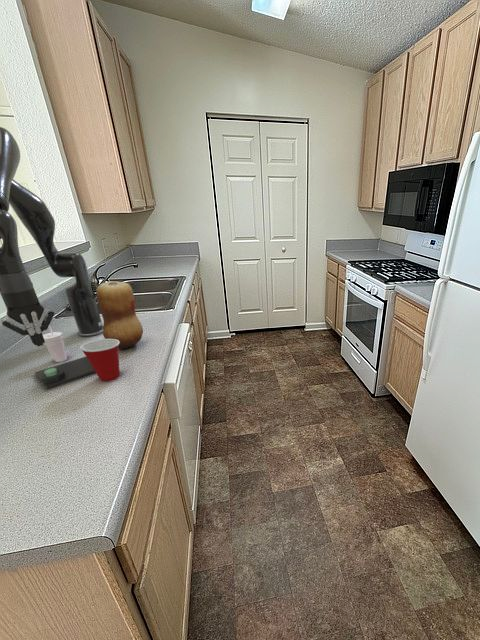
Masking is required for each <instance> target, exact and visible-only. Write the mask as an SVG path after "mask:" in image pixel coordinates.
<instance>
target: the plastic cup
mask: <svg viewBox="0 0 480 640" xmlns="http://www.w3.org/2000/svg"><path fill="white" fill-rule="evenodd" d="M119 343H120V342H119V340H116V339H105V338H100V339H94V340H90V341H87V342H85V343H82V344H81V345H80V346H79V349H80V351H81V352H82V353H83V354H84V355H85V357H87V358H88V360H89V362H90V364H91V365H92V367H93V369H94V371H95V372H96V373H95V374H96V376H97V377H98V379H99V380H100V381H101V382H111V381H114V380H116V379H118V378H119V377H120V373H121V372H120V359H119V358H120V357H119V349H118V348H119V347H118V346H119Z"/></svg>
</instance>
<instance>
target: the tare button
mask: <svg viewBox="0 0 480 640" xmlns="http://www.w3.org/2000/svg"><path fill="white" fill-rule="evenodd" d="M44 373H45V375H46V377H50V376H54V375H56V374H58V372H57V369H56V368H51V369H48V370H46V371H45V372H44Z"/></svg>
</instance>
